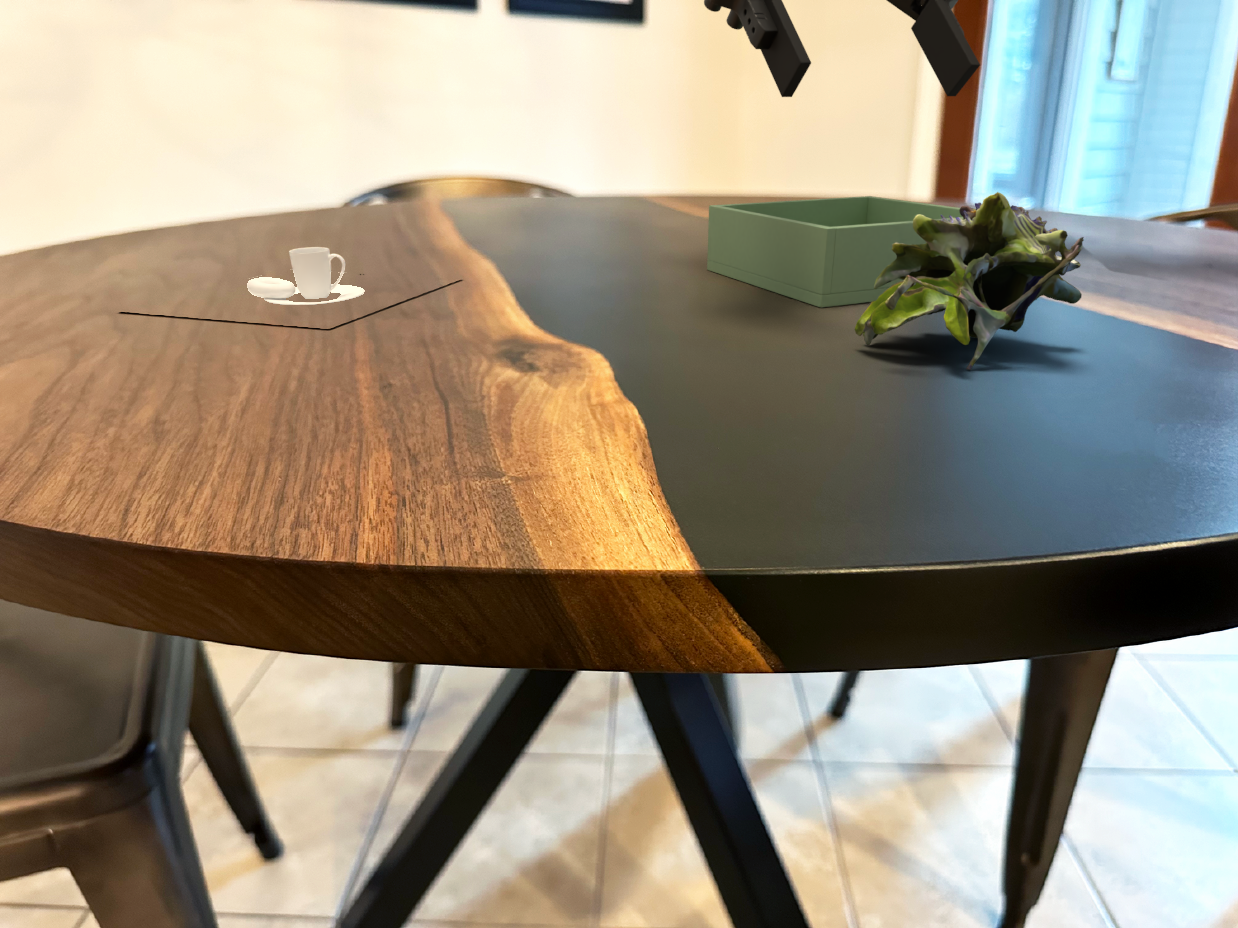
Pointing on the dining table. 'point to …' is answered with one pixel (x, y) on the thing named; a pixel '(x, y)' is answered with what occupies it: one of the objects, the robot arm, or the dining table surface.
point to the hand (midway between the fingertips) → (883, 81)
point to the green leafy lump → (974, 273)
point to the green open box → (815, 245)
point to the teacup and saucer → (305, 280)
